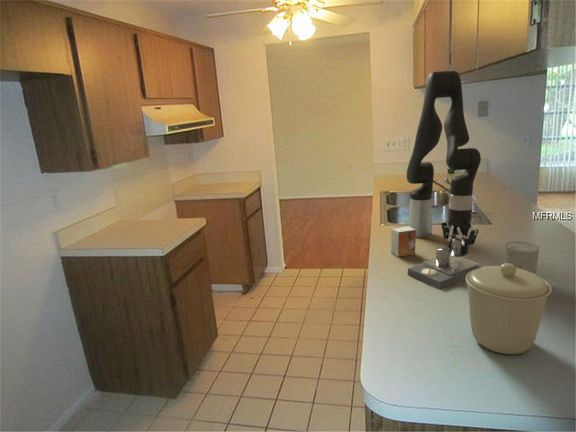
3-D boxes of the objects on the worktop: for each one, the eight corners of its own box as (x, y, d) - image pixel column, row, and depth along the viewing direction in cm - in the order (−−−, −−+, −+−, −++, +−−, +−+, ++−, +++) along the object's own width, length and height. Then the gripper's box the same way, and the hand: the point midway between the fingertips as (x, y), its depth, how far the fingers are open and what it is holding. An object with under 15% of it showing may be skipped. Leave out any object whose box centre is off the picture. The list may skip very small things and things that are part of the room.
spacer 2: (448, 254, 142) (449, 238, 140) (456, 251, 144) (457, 236, 142) (458, 257, 138) (459, 241, 136) (467, 255, 140) (468, 239, 138)
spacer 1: (441, 261, 141) (442, 245, 139) (452, 265, 137) (453, 249, 136) (433, 264, 139) (433, 248, 137) (443, 268, 135) (444, 252, 134)
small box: (397, 257, 157) (398, 232, 154) (390, 252, 162) (390, 228, 159) (415, 254, 159) (416, 229, 156) (408, 250, 164) (408, 225, 161)
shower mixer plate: (450, 255, 148) (450, 253, 148) (478, 265, 138) (478, 263, 138) (423, 264, 142) (423, 261, 142) (451, 275, 132) (451, 272, 131)
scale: (448, 261, 150) (448, 253, 149) (481, 273, 138) (482, 265, 137) (407, 274, 141) (407, 266, 140) (439, 288, 129) (439, 280, 128)
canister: (473, 316, 111) (478, 246, 106) (549, 337, 100) (559, 259, 94) (451, 347, 98) (456, 268, 92) (536, 375, 86) (547, 287, 81)
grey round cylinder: (505, 273, 137) (508, 239, 134) (537, 279, 131) (541, 244, 128) (498, 283, 130) (502, 248, 127) (532, 290, 124) (536, 253, 121)
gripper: (486, 208, 132) (482, 256, 136) (450, 201, 144) (448, 245, 148) (471, 212, 128) (468, 261, 133) (436, 204, 141) (434, 250, 145)
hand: (457, 253), depth 141 cm, fingers closed on spacer 2, 4 cm apart
